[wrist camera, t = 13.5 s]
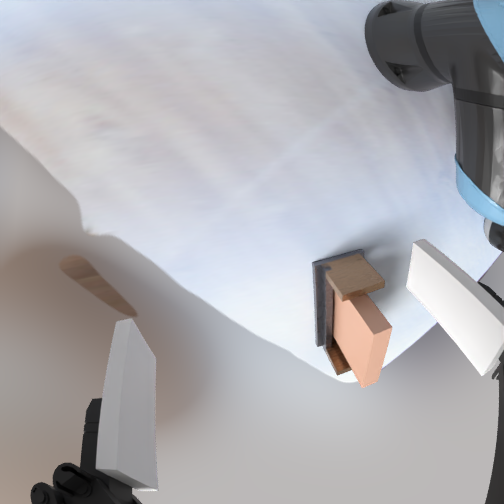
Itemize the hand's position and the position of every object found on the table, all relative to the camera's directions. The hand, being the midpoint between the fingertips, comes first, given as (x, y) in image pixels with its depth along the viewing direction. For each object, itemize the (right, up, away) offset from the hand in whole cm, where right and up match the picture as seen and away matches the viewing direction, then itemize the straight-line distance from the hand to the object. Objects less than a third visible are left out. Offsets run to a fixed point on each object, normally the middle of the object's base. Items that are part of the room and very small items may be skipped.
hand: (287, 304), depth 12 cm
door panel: (+14, -7, +38) cm, 41 cm away
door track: (+14, -7, +38) cm, 41 cm away
